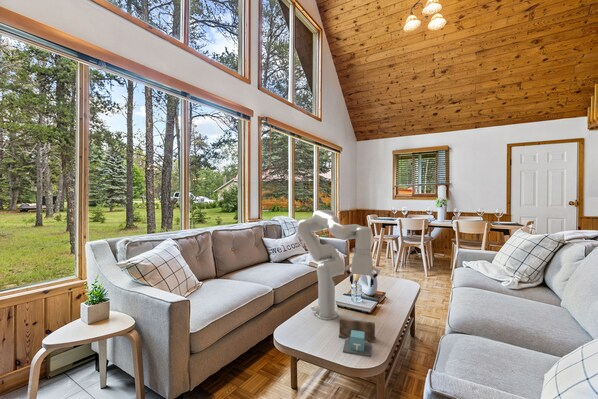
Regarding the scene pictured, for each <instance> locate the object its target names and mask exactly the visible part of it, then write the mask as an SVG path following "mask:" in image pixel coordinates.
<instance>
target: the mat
mask: <svg viewBox="0 0 598 399" xmlns="http://www.w3.org/2000/svg"><path fill="white" fill-rule="evenodd" d="M342 353H345V354H346V353H347V354H353V355H357V356H364V357H371V355H372V354H371V353H372V342H365V345H364V352H362V351H356V350H350V339H345V340H344V344H343V349H342Z"/></svg>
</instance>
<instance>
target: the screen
mask: <svg viewBox="0 0 598 399" xmlns="http://www.w3.org/2000/svg"><path fill="white" fill-rule="evenodd" d="M351 330H355V331H362V332H365V340H367V343H371V344H372V343H373V344H375V343H376V342H375V340H376V323H375V322H373V321H365V320H358V319H357V320H356V319H349V318H341V317H340V318H339V334H338V338H339V339H346V337H347V338H350V335H351Z"/></svg>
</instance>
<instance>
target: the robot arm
mask: <svg viewBox="0 0 598 399" xmlns="http://www.w3.org/2000/svg"><path fill="white" fill-rule="evenodd" d="M339 222H340V220H339V217H338V216H336V213H335V212H334V211H333V210H331V209H318V210H316V211H314V212H313V213H312V217H310V218H309V217H308V218H303V219H301V220H299V221H298V222H297V225H296V226H297V227H296V228H297V234H298V237H299V238H300V239H301V241H302V242H303V243H304V245H305V246H306V249H307V251H308V252H309V254H310V256H311V258H312V260H313V261H314V262H318V264H317V266H316V275H317V282H318V285H317V286H318V289H317V291H318V296H317V297H318V302H317V304H318V305H316V306H315V305H311V308H310V309H311V311H313V312H315V317H316V318H318V319H320V320H324V321H331V320H334V319H335V320H336V318H337V317H338V312H337V311H336V310H335V309H336V303H335V302H336V289H335V288H336V284H335V281H334V280H333V277H337V276H340V275H343V274H344V272H345V271H346V273H347V274H348V275H349V282H350V285H353V283H354V275H361V276H369V277H370V288H373V286H374V282H375V279H376V278H377V277H378V276H379V274H380V272H381V269H379V268H377V267H375V266H374V265H373V264H374V263H373V255H372V253H371V250H372V249H371V248H372V245H371V244H372V228H371V227H368V226H362V225H360V224H357V223H352V224H340V223H339ZM325 229H326V230H328V232H329V233H330V235H332V236H333V237H335V238H336V239H338V240H341V241H348V240H355V245H354V246H355V247H352V248H351V250H352V251H353V255H352V259H351V263H350V264H348V265H345V263H344V261H343V259H342V258H341V256H340V255H339V253H338V251H337V250H336V248H335V246H333V245H332V244H330V243H329V244H328V243H326V244H322V243H321V242H320V240H319V238H318V237H317V236H316V235H315V234H313V232H321V231H323V230H325ZM319 262H320V263H319ZM349 268H351V270H350V269H349ZM373 271H375V273H374V274H373Z"/></svg>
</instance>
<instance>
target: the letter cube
mask: <svg viewBox="0 0 598 399" xmlns="http://www.w3.org/2000/svg"><path fill="white" fill-rule="evenodd" d="M349 340H350V350H356V351H362V352H364V345H365V343H366V341H365V340H366V339H365V332H362V331H355V330H351V335H350V337H349Z"/></svg>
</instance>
